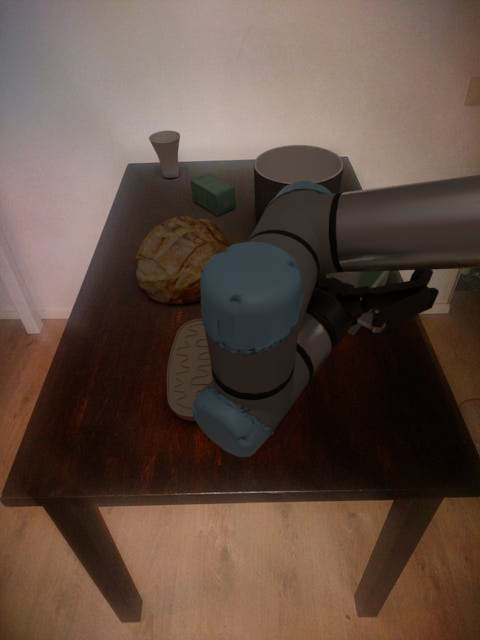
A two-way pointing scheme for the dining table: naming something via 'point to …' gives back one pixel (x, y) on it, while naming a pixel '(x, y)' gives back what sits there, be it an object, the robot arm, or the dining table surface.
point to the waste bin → (372, 281)
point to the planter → (294, 171)
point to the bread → (177, 258)
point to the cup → (166, 150)
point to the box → (213, 194)
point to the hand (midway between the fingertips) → (381, 241)
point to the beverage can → (347, 277)
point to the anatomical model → (188, 368)
